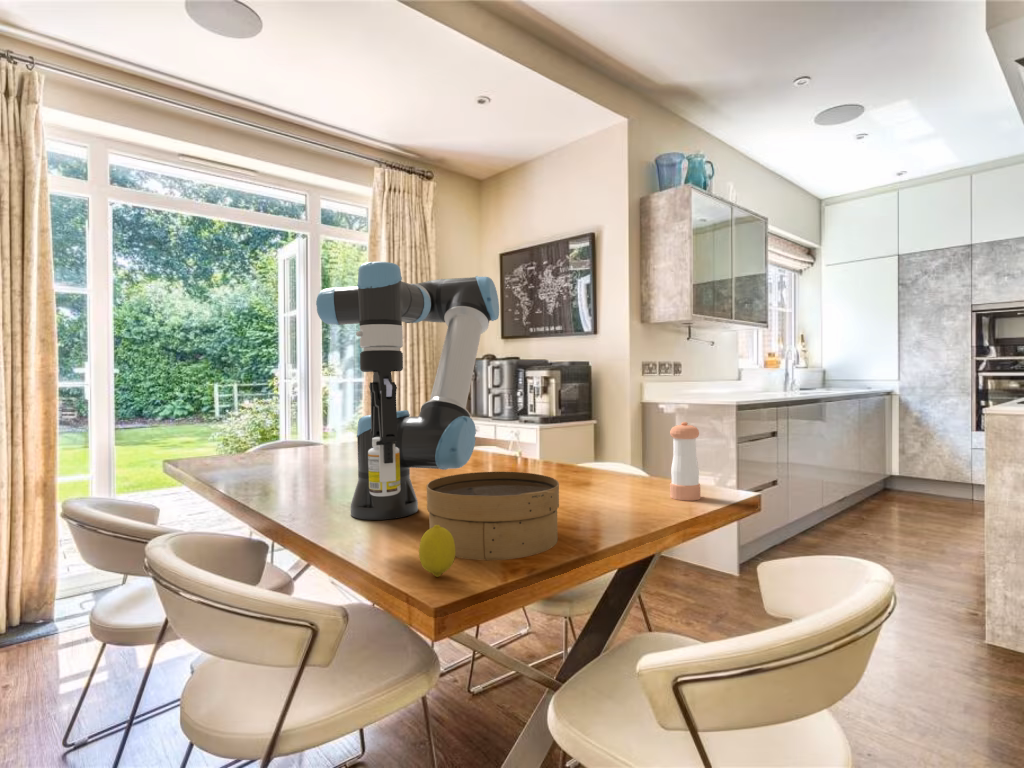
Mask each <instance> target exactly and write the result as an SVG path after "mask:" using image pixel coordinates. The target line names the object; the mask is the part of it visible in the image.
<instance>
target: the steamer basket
mask: <svg viewBox="0 0 1024 768" xmlns="http://www.w3.org/2000/svg"><path fill="white" fill-rule="evenodd" d="M559 507H560V482H559V481H558V480H557V479H555V478H554V477H552V476H548V475H543V474H539V473H538V474H537V473H533V472H532V473H531V472H530V473H529V472H523V471H522V472H519V471H479V472H466V473H459V474H454V475H453V474H452V475H447V476H442V477H440V478H435V479H433V480H431V481H429V482H428V483H427V484H426V508H427V512H428V516H429V518H428V520H429V523H428V524H429V529H430V528H432V527H434V526H435V525H440V527H443V528H445V529H447V530H448V531H449V532H450V533H451V535H452V536H453V539H454V543H455V558H458V559H467V560H476V561H477V560H480V561H502V560H514V559H515V560H516V559H521V558H526V557H530V556H534V555H538V554H541V553H544V552H546V551H549V550H550V549H551V548H553V547H554V546H556V545H557V543H558V539H559V537H558V508H559Z"/></svg>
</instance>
